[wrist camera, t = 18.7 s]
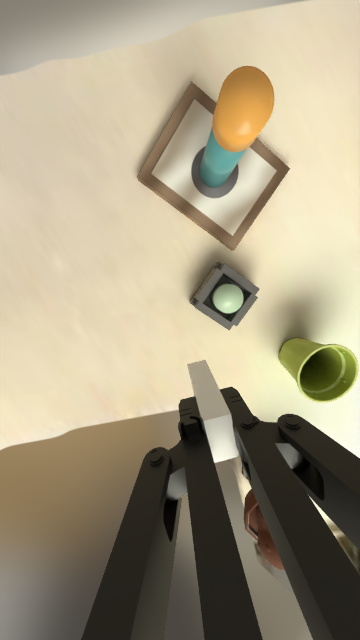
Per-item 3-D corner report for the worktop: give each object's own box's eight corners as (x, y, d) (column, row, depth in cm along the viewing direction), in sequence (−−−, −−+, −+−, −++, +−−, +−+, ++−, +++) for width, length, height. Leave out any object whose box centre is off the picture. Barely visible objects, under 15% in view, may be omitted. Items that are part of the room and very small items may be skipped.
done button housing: (189, 302, 36) (191, 305, 33) (216, 262, 35) (222, 261, 32) (226, 326, 38) (232, 332, 34) (253, 289, 36) (262, 291, 33)
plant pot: (307, 319, 38) (347, 333, 30) (325, 360, 40) (367, 384, 32) (261, 344, 39) (287, 365, 30) (281, 384, 41) (311, 413, 33)
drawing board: (138, 180, 32) (136, 175, 30) (190, 88, 30) (191, 79, 28) (231, 250, 35) (234, 249, 33) (285, 172, 33) (291, 167, 31)
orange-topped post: (191, 175, 31) (208, 108, 18) (210, 144, 30) (241, 51, 17) (217, 196, 31) (251, 145, 19) (236, 166, 31) (285, 93, 18)
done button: (205, 300, 35) (209, 303, 32) (221, 278, 34) (226, 278, 31) (226, 314, 36) (232, 318, 33) (242, 293, 35) (249, 294, 32)
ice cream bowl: (268, 492, 47) (314, 592, 32) (221, 483, 46) (247, 583, 31) (286, 453, 45) (344, 541, 30) (238, 443, 43) (274, 530, 29)
